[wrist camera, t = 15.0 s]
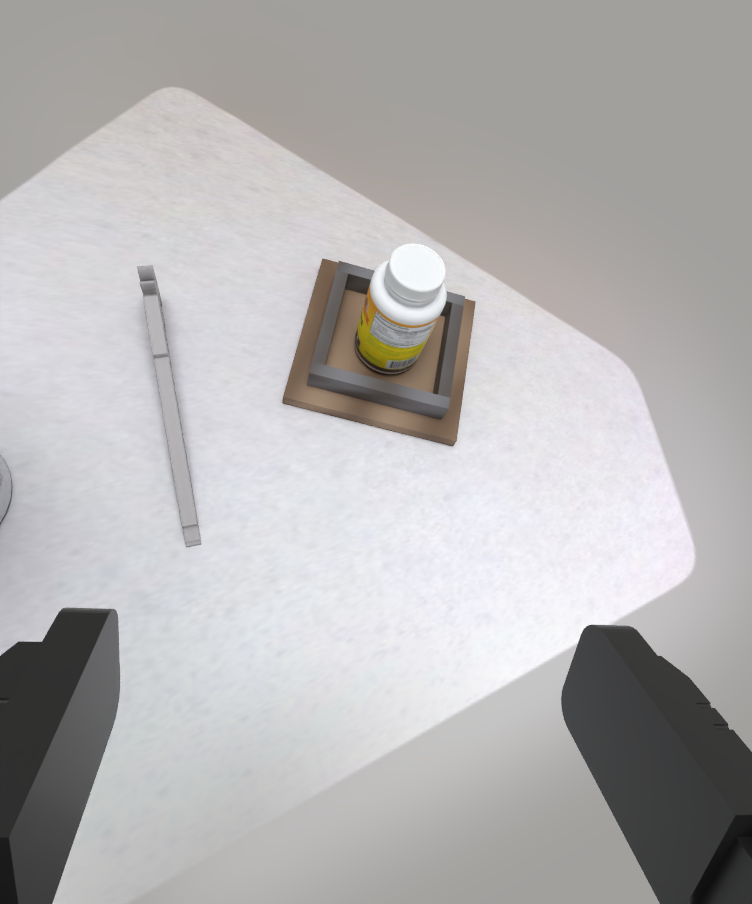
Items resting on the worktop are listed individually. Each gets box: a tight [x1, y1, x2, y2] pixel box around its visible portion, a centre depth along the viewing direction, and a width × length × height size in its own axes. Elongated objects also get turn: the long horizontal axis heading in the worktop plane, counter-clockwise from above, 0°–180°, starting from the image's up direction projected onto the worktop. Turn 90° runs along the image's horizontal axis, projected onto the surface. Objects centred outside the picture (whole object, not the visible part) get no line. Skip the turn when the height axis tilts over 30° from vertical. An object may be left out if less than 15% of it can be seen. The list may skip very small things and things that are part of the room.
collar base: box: [283, 259, 475, 446], centre depth 47 cm, size 14×14×3 cm
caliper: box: [137, 265, 201, 547], centre depth 41 cm, size 20×1×6 cm, turn 15°
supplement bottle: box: [355, 244, 447, 374], centre depth 43 cm, size 6×6×10 cm
